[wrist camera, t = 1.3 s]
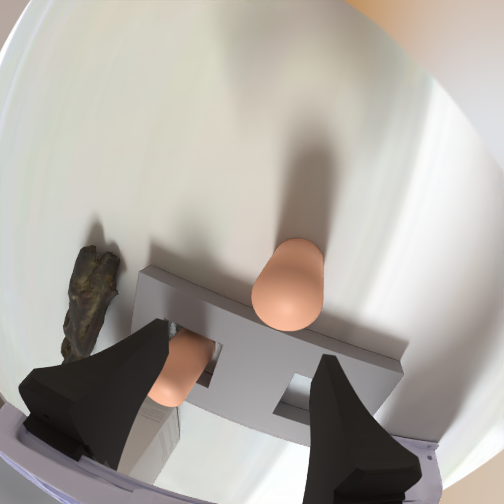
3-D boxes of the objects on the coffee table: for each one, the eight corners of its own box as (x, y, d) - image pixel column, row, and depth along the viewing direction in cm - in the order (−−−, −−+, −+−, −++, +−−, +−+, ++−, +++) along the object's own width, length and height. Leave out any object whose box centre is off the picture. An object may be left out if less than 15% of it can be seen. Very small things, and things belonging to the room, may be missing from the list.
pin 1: (219, 336, 26) (188, 382, 20) (209, 367, 27) (180, 414, 21) (180, 319, 27) (141, 358, 20) (173, 350, 28) (137, 391, 21)
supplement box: (124, 384, 31) (63, 448, 20) (178, 404, 30) (124, 483, 18) (132, 421, 33) (83, 481, 22) (181, 440, 32) (138, 511, 20)
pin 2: (331, 249, 22) (334, 280, 15) (312, 295, 23) (306, 340, 17) (282, 230, 22) (264, 253, 16) (265, 277, 24) (242, 315, 17)
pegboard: (399, 361, 23) (404, 374, 21) (339, 441, 26) (338, 454, 25) (150, 264, 26) (138, 271, 24) (136, 360, 30) (127, 370, 28)
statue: (106, 236, 30) (69, 370, 32) (69, 234, 24) (39, 380, 27) (145, 265, 28) (99, 401, 31) (108, 267, 23) (70, 416, 25)
